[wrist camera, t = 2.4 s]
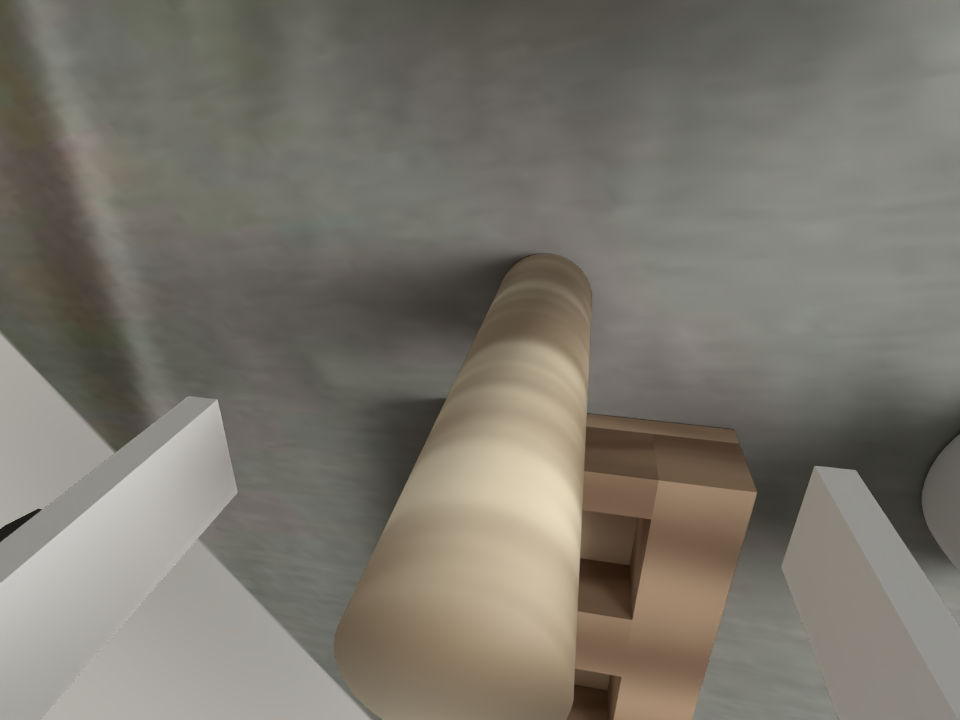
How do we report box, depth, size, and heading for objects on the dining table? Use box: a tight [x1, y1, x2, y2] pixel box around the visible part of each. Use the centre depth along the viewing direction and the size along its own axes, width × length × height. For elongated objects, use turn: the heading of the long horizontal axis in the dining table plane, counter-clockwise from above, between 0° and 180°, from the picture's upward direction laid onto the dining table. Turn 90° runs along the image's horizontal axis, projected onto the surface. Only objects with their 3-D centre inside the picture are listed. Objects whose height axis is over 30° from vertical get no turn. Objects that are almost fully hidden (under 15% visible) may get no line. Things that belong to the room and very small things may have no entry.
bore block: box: [566, 414, 757, 720], centre depth 27 cm, size 18×12×4 cm, turn 0°
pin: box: [334, 254, 592, 720], centre depth 15 cm, size 4×4×16 cm
